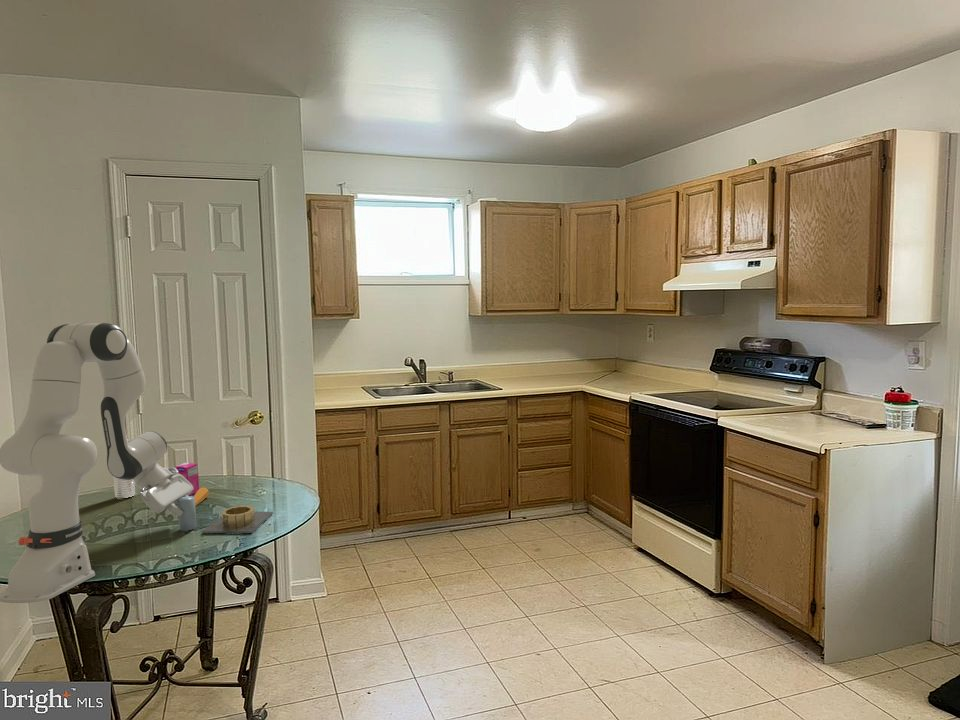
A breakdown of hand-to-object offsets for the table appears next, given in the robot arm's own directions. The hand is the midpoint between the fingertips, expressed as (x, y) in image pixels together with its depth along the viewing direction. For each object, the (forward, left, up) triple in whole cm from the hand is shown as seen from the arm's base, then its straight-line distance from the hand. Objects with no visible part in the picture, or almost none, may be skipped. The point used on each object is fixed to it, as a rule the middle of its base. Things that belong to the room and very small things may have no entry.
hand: (187, 510), depth 211 cm
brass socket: (+4, -15, -6) cm, 16 cm away
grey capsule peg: (0, 0, -6) cm, 6 cm away
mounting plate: (+4, -15, -6) cm, 16 cm away
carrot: (+24, +10, -6) cm, 27 cm away
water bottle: (+34, +42, -6) cm, 54 cm away
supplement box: (+37, +19, -6) cm, 42 cm away
